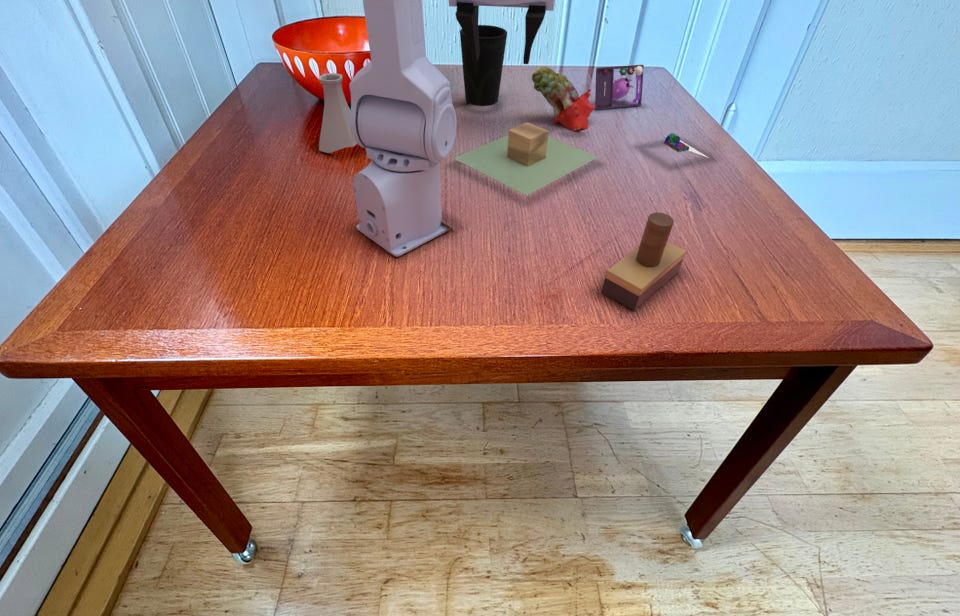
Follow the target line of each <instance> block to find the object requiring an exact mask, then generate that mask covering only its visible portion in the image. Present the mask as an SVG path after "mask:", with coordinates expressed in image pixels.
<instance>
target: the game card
mask: <svg viewBox="0 0 960 616" xmlns="http://www.w3.org/2000/svg"><path fill="white" fill-rule="evenodd" d="M644 67H645V66H644V64H631V65H629V64H628V65H618V66H616V65H615V66H602V67H601V66H600V67H596V68H595V93H594V94H595V96H594V97H595V98H594V106H595V108H594V109H595V110H596V111H597V110H598V111H599V110H608V109H609V110H610V109H620V108H632V107H640V106H642V101H643V84H644V83H643V82H644ZM615 70H619V74H620V76H624V77H619V78H617V79H614V77H615V76H614V75H615ZM634 74H635V99H632V103H627V104H618V105H617V104H616V105H613V102H614V101H613V100H619V99H622V98H624V97H625V96H626V95H627V94H629V93H631V90H630V89H631V88H632V89H634V85H632V84H631V83H630V82H632V81H633V79H631V78H628V77H625V76H626V75H628V76H632V75H634Z"/></svg>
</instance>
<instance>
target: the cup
mask: <svg viewBox="0 0 960 616" xmlns="http://www.w3.org/2000/svg"><path fill="white" fill-rule="evenodd" d="M478 34H479V47H480V52H479V58H478V60H477V61H472V55H471V51H470V47H469V44H468V41H467V39H466V36H465V34H464V32H463V30H462V28H460V30H459V38H460V49H461V63H462V76H463V86H464V87H463V88H464V99H465V106H468V105H473V106H478V107H487V106H493V105H495V104H497V103H498V102H499V95H500V88H501V82H502V75H503V67H504V60H505V53H506V46H507V38H508V31H507V30H506V29H505V28H503V27H500V26H496V25H489V24H478Z"/></svg>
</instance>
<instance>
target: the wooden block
mask: <svg viewBox="0 0 960 616" xmlns="http://www.w3.org/2000/svg"><path fill="white" fill-rule="evenodd" d="M549 134H550V130H548V129H545V128H542V127H541V126H538V125H535V124H533V123H530V122H527V121H526V122H525V123H522V124H520V125H517V126H514V127H513V128H510V129H508V134H507V135H508V149H507V157H509V158H511V159H513V160H515V161H517V162H519V163H521V164H524V165H526V166H530V165H532V164H534V163H536V162H538V161H540V160H542V159H544V158H546V151H547V143H548V136H549Z"/></svg>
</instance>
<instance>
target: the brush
mask: <svg viewBox="0 0 960 616" xmlns="http://www.w3.org/2000/svg"><path fill="white" fill-rule="evenodd" d="M674 224H675V221H674V218H673V217H672V216H671V215H669V214H668V213H664V212H652V213H650V214H649V215H648V216H647V221H646V224H645V227H644V229H643V233H642V236H641V240H640V242H639V243H640V244H639V245H638V246H637V247H636V248H634V249H633V250H632V251H631V252H629V253H628V254H626V255H624V257H622V258H621V259H619V261H617V262H616V263H614V264H613V265H611V267H609V268H608V269H607V270H606V272H605V276H604V281H603V284H602V287H601V294H603V295H605V296H606V297H608V298H611V299H612V300H614V301H615V302H617V303H618V304H620V305H622V306H624V307H626V308H627V309H629V310H631V311H633V312H635V311H636V310H637V309H639V308H640V307H641V306H642V305H643V304H644V303H646V301H647V300H649V299H650V298H651V297H652V296H653V295H654V294H656V293H657V292H658V291H659V290H660V289H661V288H662V287H664V286H665V285H666V284H667V283H668V282H669V281H670V280H671V279H673V278H675V276H676V275H677V274H678V273H679V272H680V269H681V266H682V264H683V262H684V258H685V256H686V253H687V250H685V249H684V248H682V247H679V246H677V245H675V244H673V243H671V242H669V238H670V234H671V232H672V229H673V226H674Z"/></svg>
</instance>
